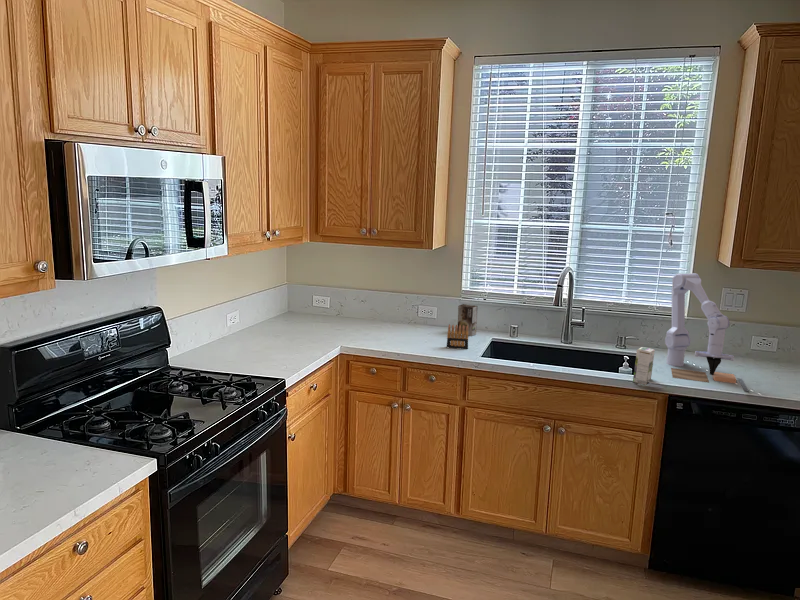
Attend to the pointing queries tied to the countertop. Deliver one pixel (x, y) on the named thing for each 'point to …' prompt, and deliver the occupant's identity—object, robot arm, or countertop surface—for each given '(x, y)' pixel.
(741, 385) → the slate mat
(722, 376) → the terracotta tile
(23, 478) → the countertop surface
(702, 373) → the walnut deck
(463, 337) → the ammunition clip
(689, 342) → the robot arm
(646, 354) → the syrup box
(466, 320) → the coffee box
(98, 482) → the countertop surface
